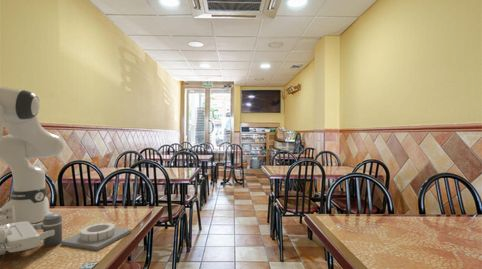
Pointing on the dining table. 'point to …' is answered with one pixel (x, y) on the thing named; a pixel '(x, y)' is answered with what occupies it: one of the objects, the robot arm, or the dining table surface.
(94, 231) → the mount
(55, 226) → the lens
